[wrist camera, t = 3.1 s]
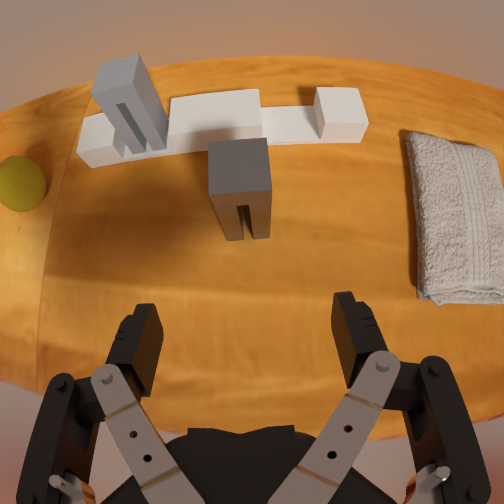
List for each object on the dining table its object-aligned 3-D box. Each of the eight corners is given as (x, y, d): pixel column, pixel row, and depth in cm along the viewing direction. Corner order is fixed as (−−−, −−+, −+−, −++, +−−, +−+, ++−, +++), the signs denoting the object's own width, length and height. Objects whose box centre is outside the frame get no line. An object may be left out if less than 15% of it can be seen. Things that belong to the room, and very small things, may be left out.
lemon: (33, 175, 31) (-7, 145, 23) (65, 176, 30) (24, 141, 22) (18, 219, 29) (-26, 194, 22) (50, 223, 29) (3, 196, 21)
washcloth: (412, 308, 26) (428, 305, 23) (398, 137, 30) (408, 121, 27) (501, 306, 26) (519, 303, 22) (481, 155, 30) (494, 143, 26)
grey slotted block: (269, 238, 28) (272, 189, 18) (227, 241, 28) (208, 195, 18) (266, 199, 28) (266, 137, 19) (226, 202, 28) (207, 142, 19)
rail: (350, 108, 30) (374, 37, 20) (359, 143, 29) (391, 72, 19) (97, 134, 31) (53, 77, 21) (91, 168, 30) (39, 114, 20)
